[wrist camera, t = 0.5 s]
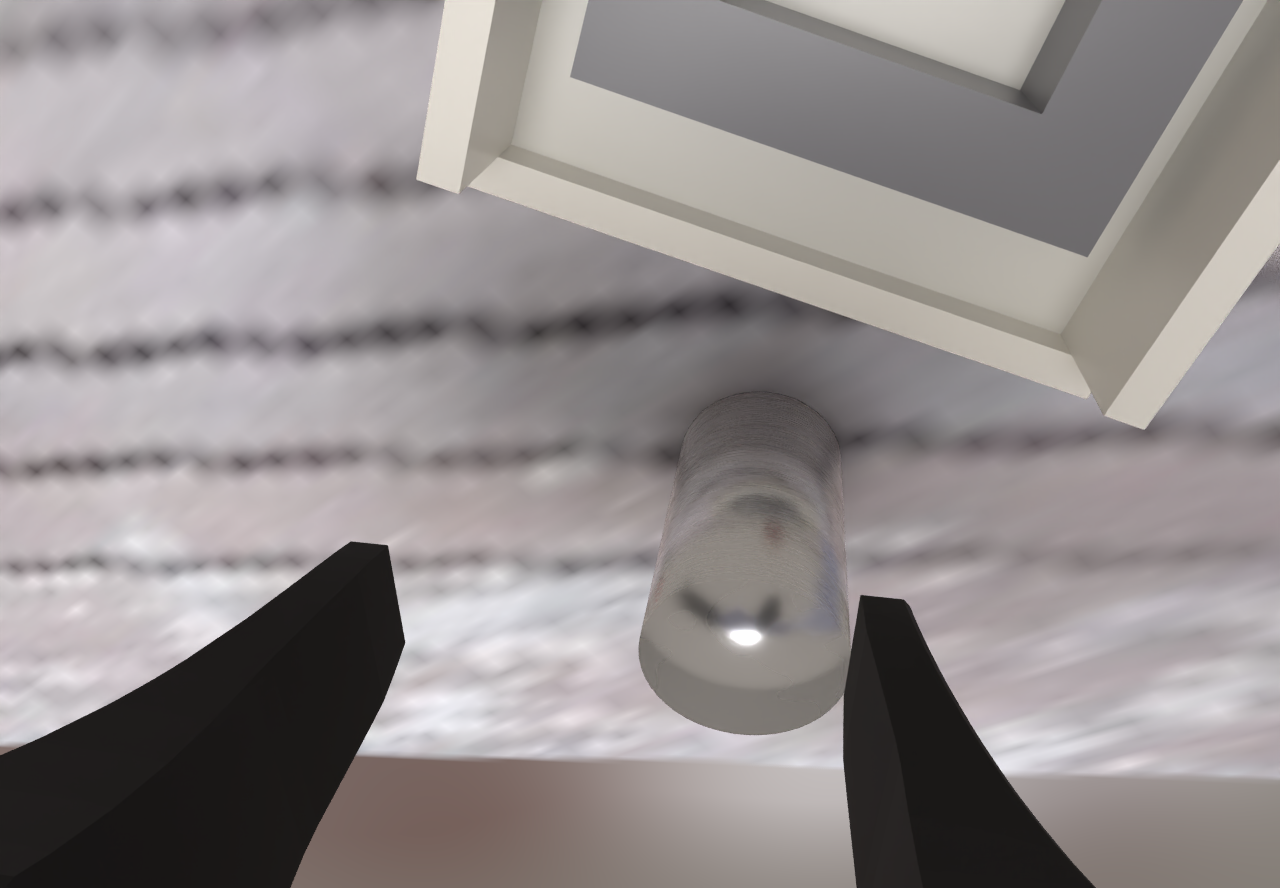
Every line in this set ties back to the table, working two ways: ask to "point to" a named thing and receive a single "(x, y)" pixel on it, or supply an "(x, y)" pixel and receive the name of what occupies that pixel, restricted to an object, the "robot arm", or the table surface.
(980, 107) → the walled box
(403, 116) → the table surface
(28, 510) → the table surface
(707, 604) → the metal plug
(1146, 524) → the table surface
